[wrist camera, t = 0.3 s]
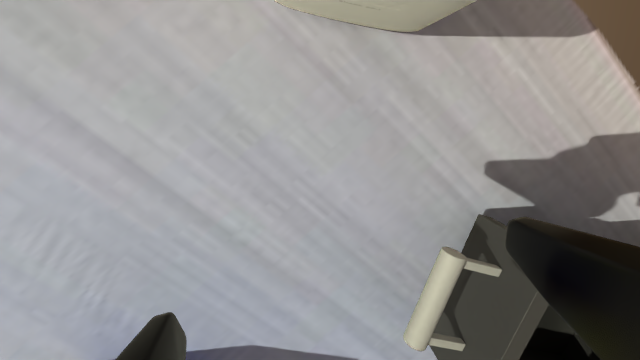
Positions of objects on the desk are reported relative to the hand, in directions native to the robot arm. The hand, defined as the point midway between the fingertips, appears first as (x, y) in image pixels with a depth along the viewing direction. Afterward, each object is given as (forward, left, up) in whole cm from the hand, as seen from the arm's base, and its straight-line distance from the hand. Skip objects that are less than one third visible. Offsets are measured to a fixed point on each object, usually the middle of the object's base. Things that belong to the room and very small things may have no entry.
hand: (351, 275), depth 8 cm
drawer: (-6, -18, -13) cm, 23 cm away
